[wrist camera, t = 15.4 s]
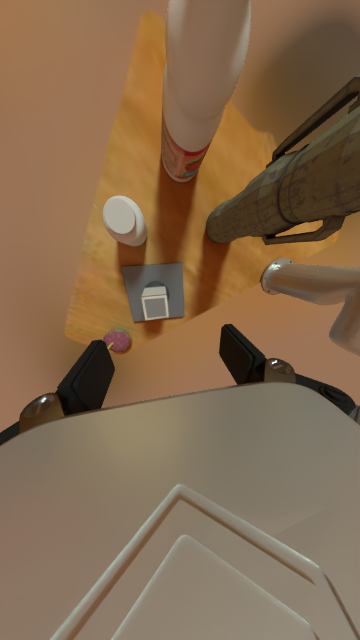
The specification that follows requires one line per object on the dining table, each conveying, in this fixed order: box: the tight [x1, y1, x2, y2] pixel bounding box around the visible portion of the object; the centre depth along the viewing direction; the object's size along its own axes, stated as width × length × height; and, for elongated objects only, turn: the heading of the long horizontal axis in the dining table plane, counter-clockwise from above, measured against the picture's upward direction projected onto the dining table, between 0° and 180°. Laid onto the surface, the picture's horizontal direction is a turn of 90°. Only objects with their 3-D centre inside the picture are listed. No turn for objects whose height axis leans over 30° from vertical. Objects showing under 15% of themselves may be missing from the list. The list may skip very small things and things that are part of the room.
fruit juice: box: [161, 0, 251, 182], centre depth 19 cm, size 9×9×28 cm
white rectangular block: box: [141, 286, 169, 320], centre depth 37 cm, size 6×6×10 cm
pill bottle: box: [103, 196, 147, 246], centre depth 30 cm, size 8×8×15 cm
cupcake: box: [103, 328, 131, 352], centre depth 45 cm, size 9×8×12 cm
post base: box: [121, 263, 184, 322], centre depth 40 cm, size 18×18×12 cm
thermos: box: [206, 76, 360, 245], centre depth 24 cm, size 9×12×35 cm
